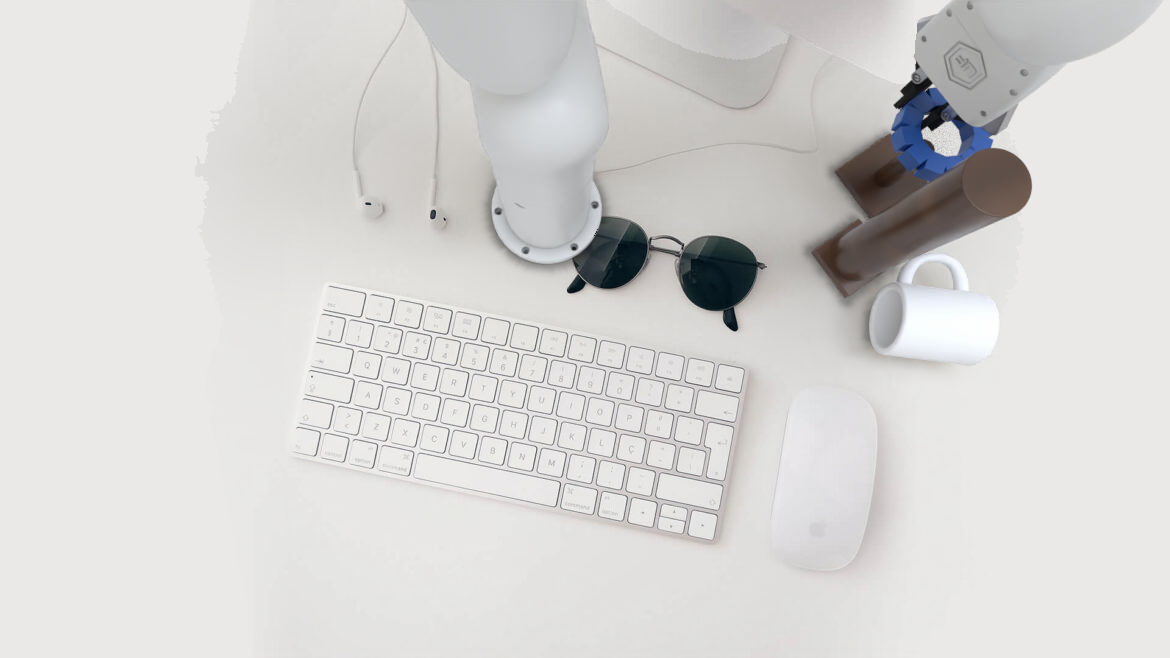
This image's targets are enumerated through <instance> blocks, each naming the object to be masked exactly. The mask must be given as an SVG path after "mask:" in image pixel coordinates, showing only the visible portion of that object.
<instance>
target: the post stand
mask: <svg viewBox="0 0 1170 658" xmlns="http://www.w3.org/2000/svg"><path fill="white" fill-rule="evenodd" d="M891 134H892V133H888V134H886V135H885V136H883V137H882V138H881V139H879V140H878V141H876V142H875V143H873V144H872V145H870V146H869V147H868V148H866V149H865V150H862V152H860V153H859V154H856V156H855V157H853V158H851V159H850V160H849V161H847V162H845V163H844V164H842V165H841V166H840V167H838V168H837V169H836V170H835V171H834V174H835V175H836V176H837V177H838V178H839V180H840V181H841V183H842V184H843V185H844V187H845V188H846V189H847V190H848V192H849V193H850V195H851V196H852V197H853V198H854V200H855V201H856V202H857V204H858V205H859V207H861V209H862V211H863V212H864V213H865V214H866V216H867V217H868V219H870V218H872V217H873V216H875V215H877V214H878V213H880V212H881V211H883V210H885V209H886V208H888V207H889V206H891V205H893V204H894V203H896V202H897V201H899V200H901V199H902V198H904V197H905V196H907V195H909V194H910V193H912V192H913V191H915V190H917V189H918V188H920V187H921V186H923V185H925V184H926V183H928V181H926V180H923V179H921V178H918V177H916V176H913V174H914V171H915V168H914V169H913V170H912V171H910V172H908V170H907V169H906V168H905V167H904V166H903V165H902V163H901V162H900V161H899V160H898V159H897V157H898V156H899V155H900V154H902V153H903V152H898V153H894V149H893V145H892V140H891ZM923 140H924V141H925V142H926V144H927V145H928V146H929V147H930V148H931V149H932V151H934V152H936V147H935V145H934V144H933V142H932V141H931V140H928V139H927V138H923Z"/></svg>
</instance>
